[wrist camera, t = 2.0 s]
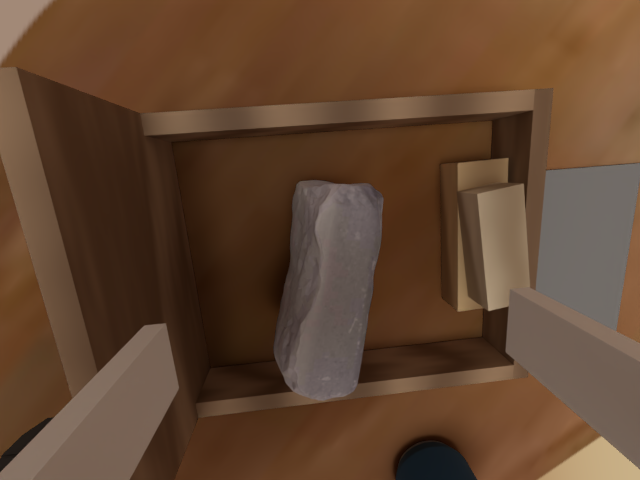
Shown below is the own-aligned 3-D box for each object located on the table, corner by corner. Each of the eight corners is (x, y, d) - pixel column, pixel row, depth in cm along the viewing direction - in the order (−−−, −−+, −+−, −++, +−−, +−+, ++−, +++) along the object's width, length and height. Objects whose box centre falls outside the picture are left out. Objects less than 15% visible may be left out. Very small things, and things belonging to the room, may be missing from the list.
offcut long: (439, 296, 26) (457, 311, 23) (437, 164, 24) (457, 163, 21) (480, 290, 27) (503, 305, 24) (482, 159, 24) (508, 157, 21)
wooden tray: (198, 382, 26) (118, 556, 14) (150, 125, 21) (-25, 69, 10) (494, 347, 27) (642, 478, 16) (509, 102, 23) (732, 30, 11)
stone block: (334, 325, 26) (358, 418, 16) (276, 319, 25) (265, 412, 15) (358, 181, 23) (405, 189, 14) (295, 171, 23) (296, 172, 13)
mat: (497, 355, 28) (498, 356, 27) (508, 173, 24) (510, 173, 24) (611, 341, 28) (614, 343, 28) (639, 163, 25) (642, 163, 25)
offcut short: (468, 296, 23) (488, 311, 21) (456, 191, 21) (477, 193, 19) (506, 287, 23) (530, 301, 21) (497, 182, 22) (523, 183, 19)
